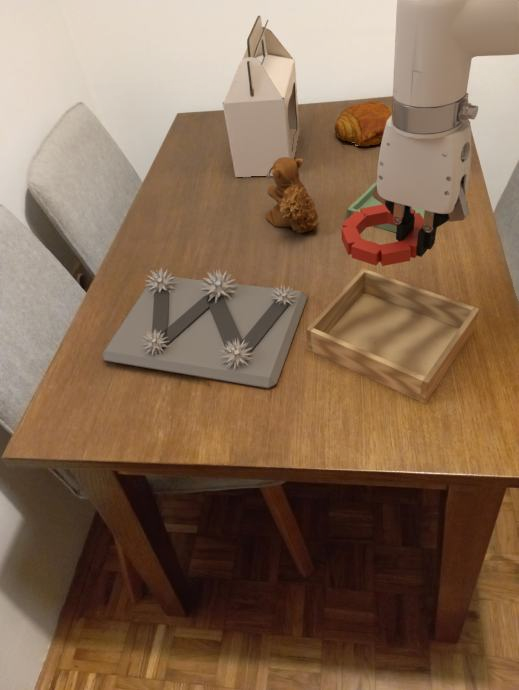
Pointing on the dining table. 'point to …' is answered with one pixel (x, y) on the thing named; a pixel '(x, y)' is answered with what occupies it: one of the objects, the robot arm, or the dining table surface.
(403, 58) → the robot arm
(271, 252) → the dining table surface
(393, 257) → the ring
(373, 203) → the tray
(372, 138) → the croissant
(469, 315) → the crate
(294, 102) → the gable box
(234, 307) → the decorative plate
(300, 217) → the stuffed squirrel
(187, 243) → the dining table surface
